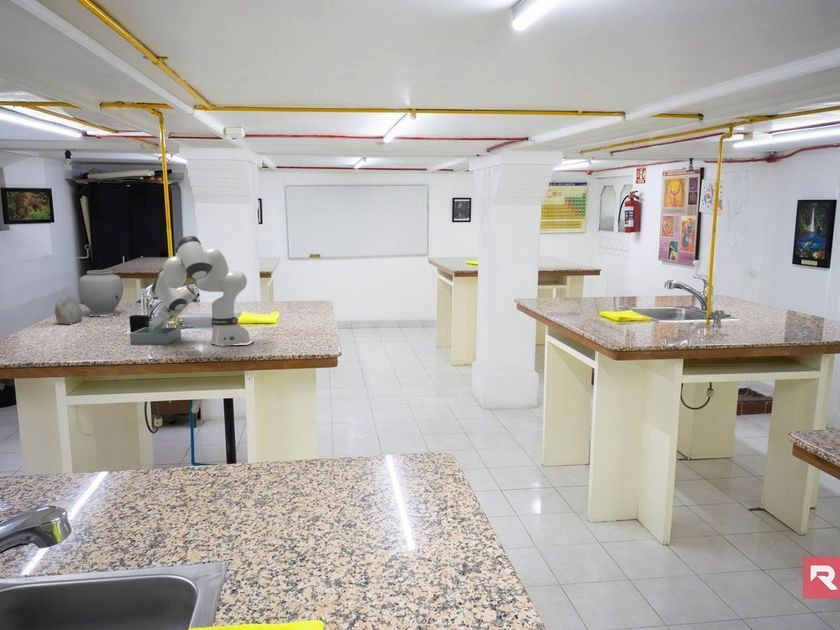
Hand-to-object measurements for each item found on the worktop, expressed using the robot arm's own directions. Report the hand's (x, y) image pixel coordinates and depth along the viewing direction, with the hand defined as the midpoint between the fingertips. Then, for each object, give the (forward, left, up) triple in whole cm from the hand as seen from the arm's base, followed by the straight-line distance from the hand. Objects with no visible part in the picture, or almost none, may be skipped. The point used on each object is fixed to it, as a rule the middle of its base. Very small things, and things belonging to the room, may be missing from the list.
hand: (154, 328), depth 348 cm
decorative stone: (+76, -55, -8) cm, 94 cm away
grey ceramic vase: (+71, -85, -8) cm, 111 cm away
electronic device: (+19, -25, -8) cm, 33 cm away
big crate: (-1, 0, -7) cm, 7 cm away
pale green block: (-1, 0, -5) cm, 5 cm away
